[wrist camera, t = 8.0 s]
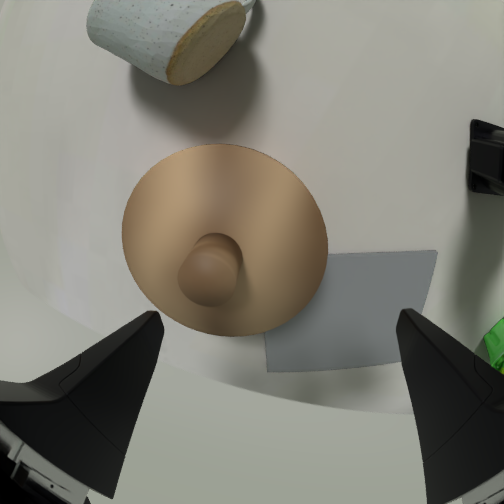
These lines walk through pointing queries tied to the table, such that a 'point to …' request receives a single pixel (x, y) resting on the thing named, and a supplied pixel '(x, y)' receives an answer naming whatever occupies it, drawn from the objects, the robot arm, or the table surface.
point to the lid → (225, 240)
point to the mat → (353, 313)
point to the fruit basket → (496, 346)
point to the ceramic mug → (168, 34)
